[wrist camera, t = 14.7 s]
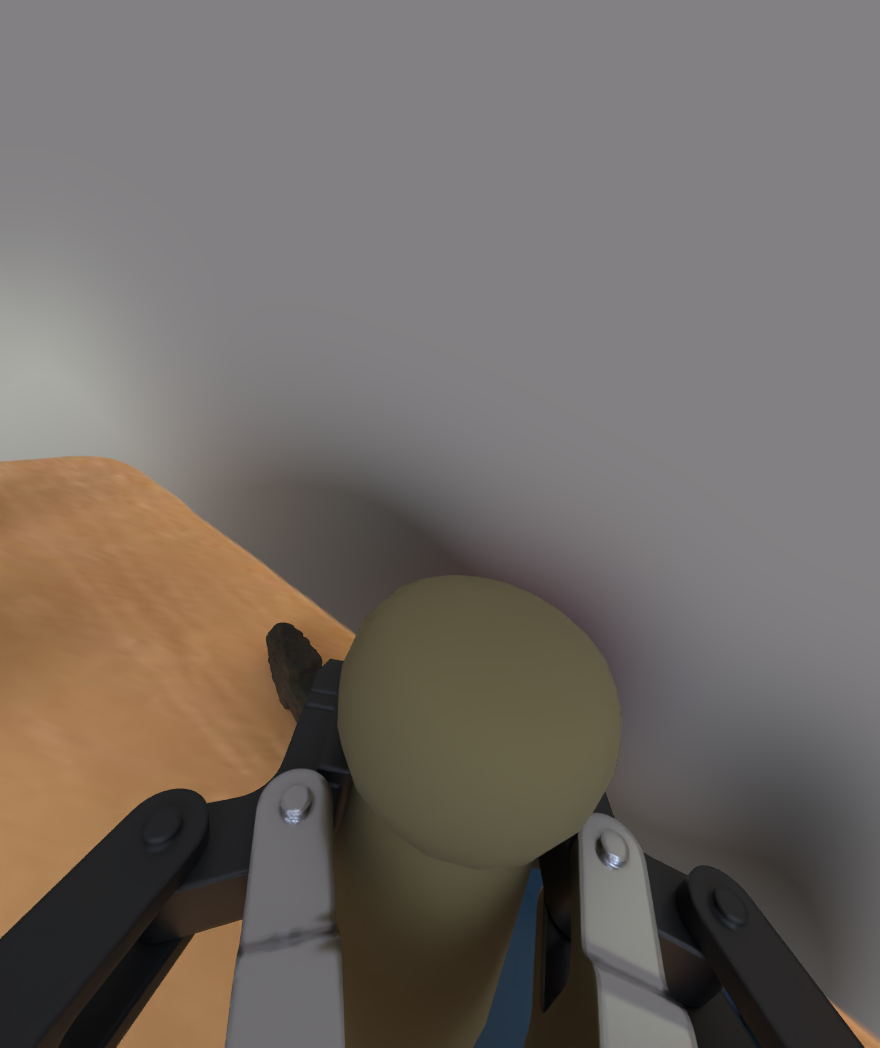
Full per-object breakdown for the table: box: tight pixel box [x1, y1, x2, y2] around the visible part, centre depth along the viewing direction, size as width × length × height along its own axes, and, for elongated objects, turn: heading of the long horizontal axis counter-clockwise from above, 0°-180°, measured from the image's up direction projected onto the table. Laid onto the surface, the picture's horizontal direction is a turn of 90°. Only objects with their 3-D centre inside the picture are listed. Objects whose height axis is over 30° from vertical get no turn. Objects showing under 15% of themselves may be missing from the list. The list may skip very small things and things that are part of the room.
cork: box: [334, 575, 622, 1048], centre depth 9 cm, size 6×6×11 cm
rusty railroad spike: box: [266, 623, 322, 723], centre depth 27 cm, size 19×4×5 cm, turn 40°
